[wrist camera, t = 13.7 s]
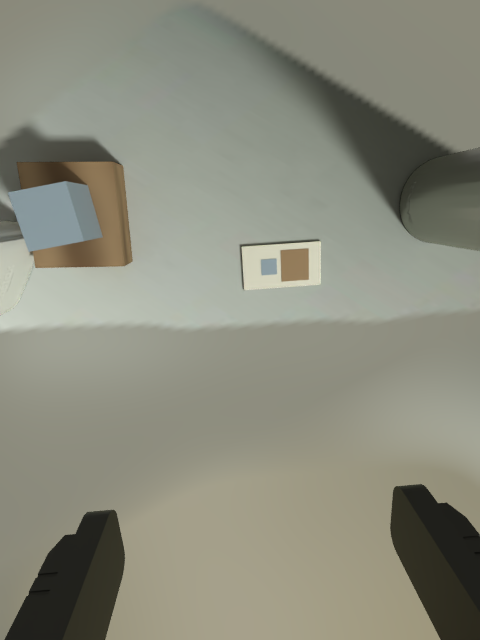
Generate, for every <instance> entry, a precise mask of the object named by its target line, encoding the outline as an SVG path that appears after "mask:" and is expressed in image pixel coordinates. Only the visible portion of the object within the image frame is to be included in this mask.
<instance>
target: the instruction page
mask: <svg viewBox="0 0 480 640" xmlns="http://www.w3.org/2000/svg"><path fill="white" fill-rule="evenodd" d="M242 262H243V278H244V290H253V289H267V288H281V287H295V286H309V285H321V241H315V242H300V243H286V244H271V245H257V246H242Z"/></svg>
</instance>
